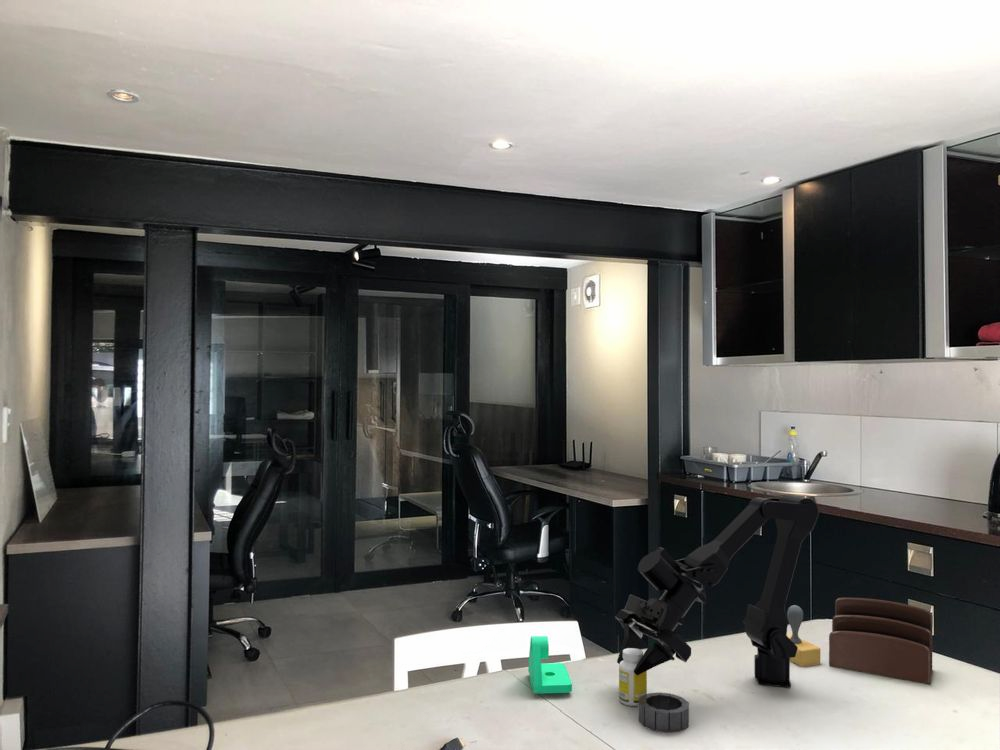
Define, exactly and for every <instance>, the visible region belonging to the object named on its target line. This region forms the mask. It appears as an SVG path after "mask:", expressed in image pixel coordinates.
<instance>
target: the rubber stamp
mask: <svg viewBox="0 0 1000 750" xmlns="http://www.w3.org/2000/svg"><path fill="white" fill-rule="evenodd" d="M786 617H787V622H788V624H789V626H790V628H791V632H792V633H791V634H789V633H788V634H787V637H788V638H789V639H790V640H791V641H792V642H793V643H794V644H795V645H796V646H797V647H798V649H797V652H796V656H795V657H792V658H790V662H791V663H793V664H795V665H796V666H799V667H801V668H802V667H810V666H814V665H820V664H821V647H820V646H818V645H815V644H814V643H812V642H809V641H808V640H807V641H806V640H804V639H802V638H800V637H799V630H800V628H801V625H802V623H803V620H804V611H803V609H802V608H801V607H800V606H799V605H796V604H793V605H790V606H789V607H788V609H787V612H786Z"/></svg>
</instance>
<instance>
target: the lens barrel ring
mask: <svg viewBox="0 0 1000 750" xmlns="http://www.w3.org/2000/svg"><path fill="white" fill-rule="evenodd" d="M689 712H690V702H689V701H688V700H687V699H685V698H684V697H682V696H680V695H677V694H675V693H674V694H673V693H668V692H650V693H649V692H648V693H647V694H645V695H643V696H641V697H640V699H639V706H638V723H639V724H641V725H642V726H643V727H644V728H646V729H649V730H651V731H653V732H659V733H660V732H661V733H668V734H669V733H671V734H673V733H678V732H679V733H680V732H682V731H685V730H686V729H688V728H689V726H690V725H689V723H690V717H689V716H690V713H689Z"/></svg>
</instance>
